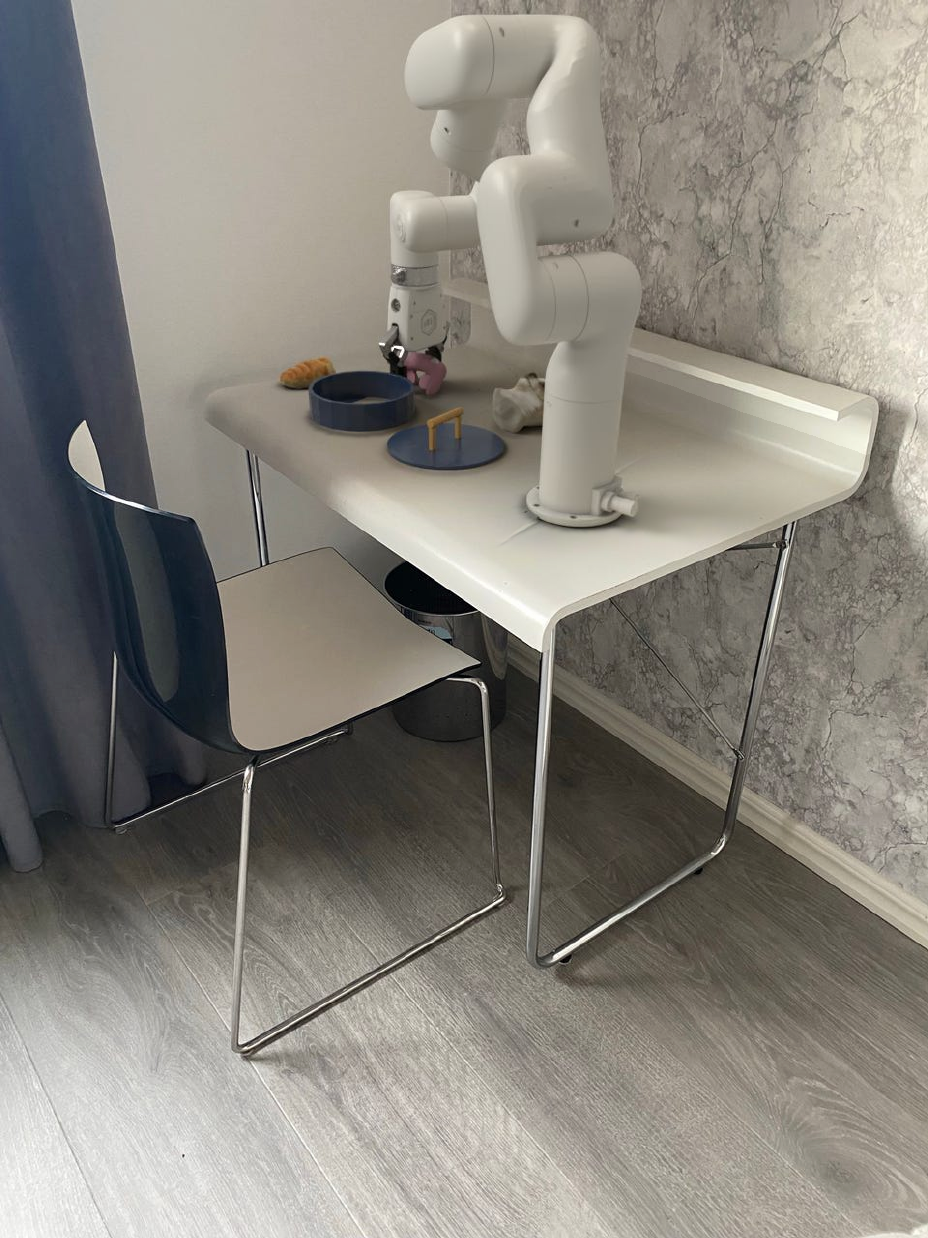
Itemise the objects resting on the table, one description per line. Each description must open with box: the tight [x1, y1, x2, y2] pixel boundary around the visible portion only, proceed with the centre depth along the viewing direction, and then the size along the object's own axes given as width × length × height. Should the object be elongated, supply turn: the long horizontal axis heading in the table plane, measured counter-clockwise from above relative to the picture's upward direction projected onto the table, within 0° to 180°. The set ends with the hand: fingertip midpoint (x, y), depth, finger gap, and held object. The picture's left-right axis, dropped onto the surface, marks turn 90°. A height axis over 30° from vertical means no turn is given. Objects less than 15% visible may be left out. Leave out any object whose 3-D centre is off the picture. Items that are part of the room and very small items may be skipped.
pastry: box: [279, 356, 337, 390], centre depth 170 cm, size 9×7×4 cm
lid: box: [386, 406, 505, 471], centre depth 144 cm, size 17×17×6 cm
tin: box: [308, 370, 416, 433], centre depth 156 cm, size 16×16×5 cm
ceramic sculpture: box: [492, 372, 545, 434], centre depth 152 cm, size 11×9×15 cm
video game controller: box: [387, 351, 448, 396], centre depth 168 cm, size 10×5×7 cm, turn 58°
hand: (416, 381), depth 168 cm, fingers open, 8 cm apart
